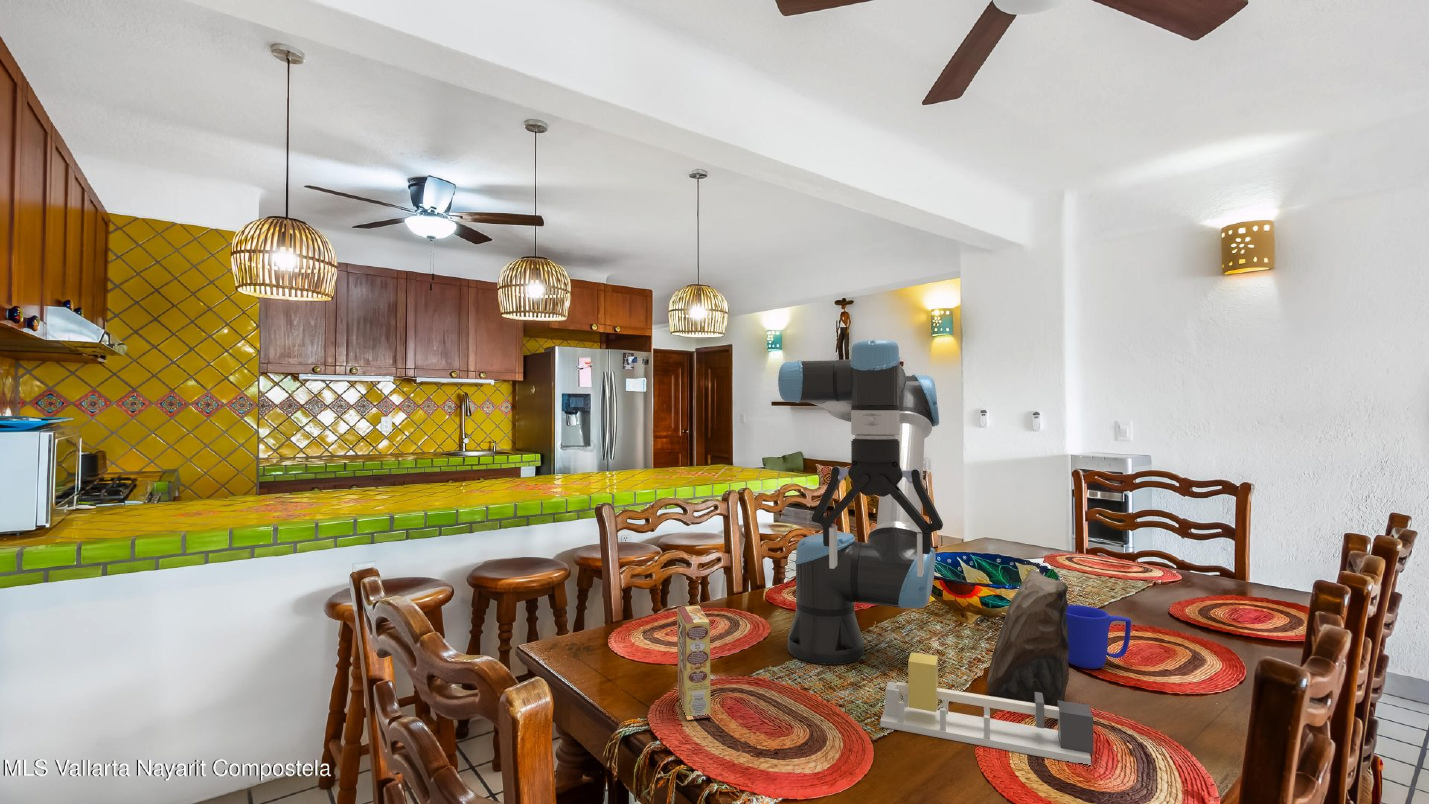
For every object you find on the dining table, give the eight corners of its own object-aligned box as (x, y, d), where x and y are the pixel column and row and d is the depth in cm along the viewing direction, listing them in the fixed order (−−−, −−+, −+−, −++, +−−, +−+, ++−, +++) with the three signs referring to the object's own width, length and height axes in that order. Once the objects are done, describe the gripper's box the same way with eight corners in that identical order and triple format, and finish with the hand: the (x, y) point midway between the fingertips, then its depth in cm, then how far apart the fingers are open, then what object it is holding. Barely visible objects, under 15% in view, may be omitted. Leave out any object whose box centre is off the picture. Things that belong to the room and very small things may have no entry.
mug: (1140, 675, 117) (1140, 620, 117) (1068, 670, 119) (1067, 616, 119) (1121, 658, 125) (1121, 607, 125) (1054, 654, 127) (1053, 603, 127)
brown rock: (1022, 674, 117) (1021, 565, 118) (1095, 700, 107) (1094, 579, 107) (982, 692, 110) (981, 575, 110) (1056, 721, 100) (1055, 592, 100)
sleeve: (908, 707, 98) (908, 661, 98) (911, 696, 102) (911, 652, 102) (936, 712, 96) (935, 665, 96) (938, 701, 100) (937, 655, 100)
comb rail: (880, 726, 98) (880, 681, 98) (887, 707, 105) (886, 665, 105) (1095, 766, 87) (1094, 716, 87) (1087, 742, 93) (1087, 695, 93)
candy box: (712, 719, 101) (712, 621, 101) (685, 722, 100) (685, 623, 100) (700, 695, 109) (700, 604, 109) (675, 697, 108) (675, 606, 108)
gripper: (793, 437, 104) (793, 568, 104) (957, 439, 95) (958, 584, 94) (804, 435, 111) (805, 558, 111) (959, 437, 101) (960, 572, 101)
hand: (875, 570), depth 102 cm, fingers open, 13 cm apart
